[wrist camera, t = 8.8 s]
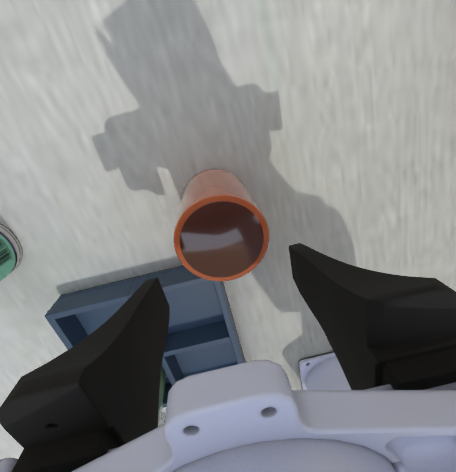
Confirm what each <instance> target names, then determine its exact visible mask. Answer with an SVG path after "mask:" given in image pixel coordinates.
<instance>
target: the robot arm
mask: <svg viewBox="0 0 456 472" xmlns="http://www.w3.org/2000/svg"><path fill="white" fill-rule="evenodd" d="M289 252H290V259H291V267H292V274H293V279H294V281H295V283H296V285H297V288H298V290H299V292H300V294H301V295H302V297H303V298H304V300H305V302H306V303H307V305H308V306H309V308H310V309H311V311H312V313H313V314H314V316H315V317H316V319H317V320H318V322H319V324H320V325H321V327H322V329H323V331H324V332H325V334H326V336H327V339H328V341H329V343H330V345H331V347H332V349H333V351H334V353H330V354H326V355H321V356H317V357H313V358H309V359H305V360H301V361H300V362H299V369H300V375H301V382H302V389H303V390H292V389H291V386H290V383H289V380H288V377H287V374H286V372H285V371H284V369H283V368H282V366H281V365H279V364H277V363H274V362H272V361H269V360H255V361H250V362H245V363H241V364H237V365H233V366H228V367H224V368H220V369H216V370H211V371H207V372H203V373H199V374H195V375H190V376H188V377H186V378H184V379H181V380H179V381H177V382H176V383H175V384H174V385H173V387H172V388H171V389H170V390H169V392H168V400H167V408H166V416H165V424H164V425H162V426H160V427H158V408H159V389H160V376H161V366H162V360H163V354H164V349H165V344H166V338H167V333H168V327H169V316H170V306H169V304H168V301H167V299H166V296H165V294H164V291H163V289H162V286H161V284H160V281H159V279H158V277H156V278H152V279H148V280H146V281H145V282H144V283H143V284H142V285H141V286H140V287H139V288H138V289H137V290H136V291H135V293H134V294H133V295H132V296H131V297H130V298H129V299H128V300H127V301H126V302H125V303H124V304H123V305H122V306H121V307H120V308H119V309H118V310H117V311H116V312H115V313H114V314H113V315H112V316H111V317H110V318H109V319H108V320H107V321H106V322H105V323H104V324H102V325H101V326H100V327H99V328H98V329H96V330H95V331H94V332H93V333H91V334H90V335H89V336H87V337H86V338H85V339H83V340H82V341H81V342H79V343H78V344H76V345H75V346H74V347H72V348H71V349H69V350H68V351H66V352H64V353H63V354H61V355H60V356H58V357H56V358H55V359H53V360H51V361H50V362H48V363H46V364H44V365H43V366H41V367H39V368H37V369H35V370H34V371H32V372H30V373H28V374H26V375H24V376H22V377H21V378H20V380H19V381H18V383H17V384H16V386H15V387H14V388H13V390H12V391H11V393H10V394H9V396H8V397H7V398H6V400H5V401H4V403H3V404H2V406H1V407H0V424H1V425H2V426H3V428H4V429H5V430H6V431H7V432H8V433H9V434H10V435H11V436H12V437H13V438H14V439H15V440H16V441H17V442H18V443H19V444H20V445H21V446H22V447H24V450H23V452H22V454H21V455H20V457H19V459H15V458H5V459H1V460H0V472H456V292H455V291H454V290H452V289H451V288H449V287H448V286H446V285H445V284H443V283H442V282H440V281H439V280H437V279H436V278H422V277H408V276H400V275H392V274H386V273H381V272H376V271H371V270H367V269H363V268H359V267H356V266H352V265H349V264H346V263H343V262H341V261H338V260H335V259H333V258H331V257H328V256H326V255H324V254H322V253H319V252H317V251H315V250H313V249H311V248H309V247H307V246H305V245H303V244H301V243H298V244H294V245H290V246H289Z"/></svg>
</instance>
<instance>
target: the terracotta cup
mask: <svg viewBox="0 0 456 472" xmlns="http://www.w3.org/2000/svg"><path fill="white" fill-rule="evenodd" d="M268 242H269V230H268V226H267V223H266V220H265V218H264V216H263V215H262V213H261V212H260V210H259V208H258V207H257V205H256V204H255V202H254V201H253V199H252V198H251V196H250V194H249V193H248V191H247V190H246V188H245V187H244V185H243V184H242V182H241V181H240V180H239V179H238V178H237V177H236V176H235V175H233V174H232V173H230V172H228V171H225V170H221V169H210V170H206V171H203V172H201V173H199V174H197V175H196V176H194V177H193V178H192V179H191V180H190V181H189V183H188V184H187V186H186V188H185V191H184V194H183V198H182V202H181V206H180V210H179V215H178V219H177V223H176V227H175V232H174V247H175V251H176V254H177V256H178V258H179V260H180V261H181V263H182V264H183V265H184V266H185V267H186V268H187V269H188V270H189V271H190V272H192V273H193V274H195V275H197V276H198V277H201V278H203V279H207V280H212V281H228V280H233V279H236V278H239V277H241V276H244V275H245V274H247V273H249V272H250V271H251V270H253V269H254V268H255V267H256V266H257V265H258V264H259V263H260V261H261V260H262V258H263V257H264V255H265V253H266V250H267V247H268Z"/></svg>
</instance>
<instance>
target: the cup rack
mask: <svg viewBox="0 0 456 472" xmlns="http://www.w3.org/2000/svg"><path fill="white" fill-rule="evenodd" d="M156 277H158V279H159V281H160V284H161V286H162V289H163V291H164V294H165V296H166V299H167V301H168V304H169V306H170V316H169V327H168V333H167V338H166V344H165V349H164V354H163V360H162V367H163V369H164V371H165V373H166V375H167V377H166V385H165V392H164V399H163V407H167V400H168V392H169V390H170V389H171V388H172V387H173V385H174V384H175V383H176V382H177V381H179V380H181V379H184V378H186V377H188V376H190V375H195V374H199V373H203V372H207V371H211V370H216V369H220V368H224V367H228V366H233V365H237V364H241V363H245V359H244V355H243V352H242V348H241V344H240V341H239V337H238V334H237V330H236V327H235V323H234V320H233V316H232V312H231V309H230V305H229V302H228V298H227V295H226V291H225V288H224V284H223V281H212V280H207V279H203V278H201V277H198V276H197V275H195V274H193V273H192V272H190V271H189V270H188V269H187V268H186V267H185V266H179V267H175V268H171V269H167V270H163V271H159V272H155V273H151V274H147V275H142V276H138V277H134V278H130V279H126V280H122V281H118V282H114V283H110V284H105V285H101V286H97V287H93V288H89V289H85V290H81V291H77V292H73V293H68V294H64V295H61V296H60V297H59V299H58V300H57V301H56V302H55V304H54V305H53V306H52V307H51V309H50V310H49V311H48V312H47V314H46V315H45V317H46V319H47V320H48V322H49V323H50V325H51V326H52V327H53V329H54V330H55V332H56V333H57V335H58V336H59V337H60V339H61V340H62V342H63V343H64V345H65V346H66V348H67V349H68V350H69V349H71V348H72V347H74V346H75V345H76V344H78V343H79V342H81V341H82V340H83V339H85V338H86V337H87V336H89V335H90V334H91V333H93V332H94V331H95V330H96V329H98V328H99V327H100V326H101V325H102V324H104V323H105V322H106V321H107V320H108V319H109V318H110V317H111V316H112V315H113V314H114V313H115V312H116V311H117V310H118V309H119V308H120V307H121V306H122V305H123V304H124V303H125V302H126V301H127V300H128V299H129V298H130V297H131V296H132V295H133V294H134V293H135V291H136V290H137V289H138V288H139V287H140V286H141V285H142V284H143V283H144V282H145V281H146V280H148V279H152V278H156ZM163 407H162V408H163Z"/></svg>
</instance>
